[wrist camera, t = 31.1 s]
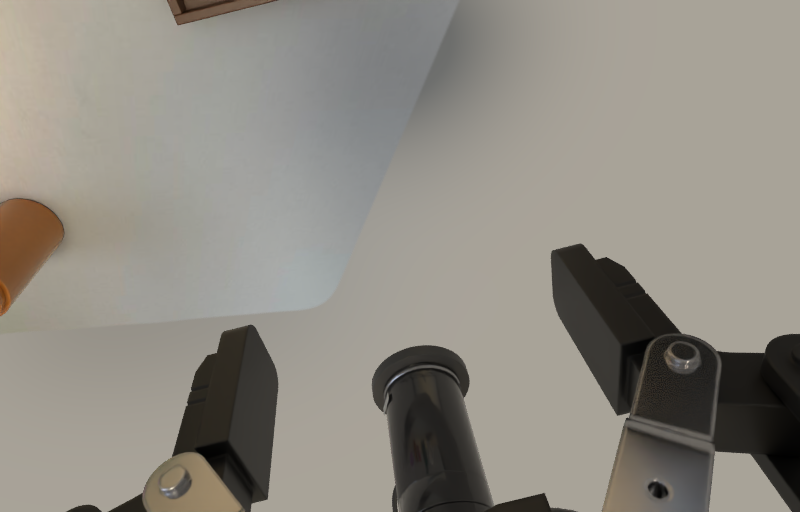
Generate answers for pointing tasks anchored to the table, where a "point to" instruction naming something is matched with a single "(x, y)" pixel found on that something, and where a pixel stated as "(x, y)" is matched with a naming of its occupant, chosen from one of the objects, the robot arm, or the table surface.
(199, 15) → the tray
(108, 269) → the table surface
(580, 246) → the robot arm
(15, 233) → the jar
